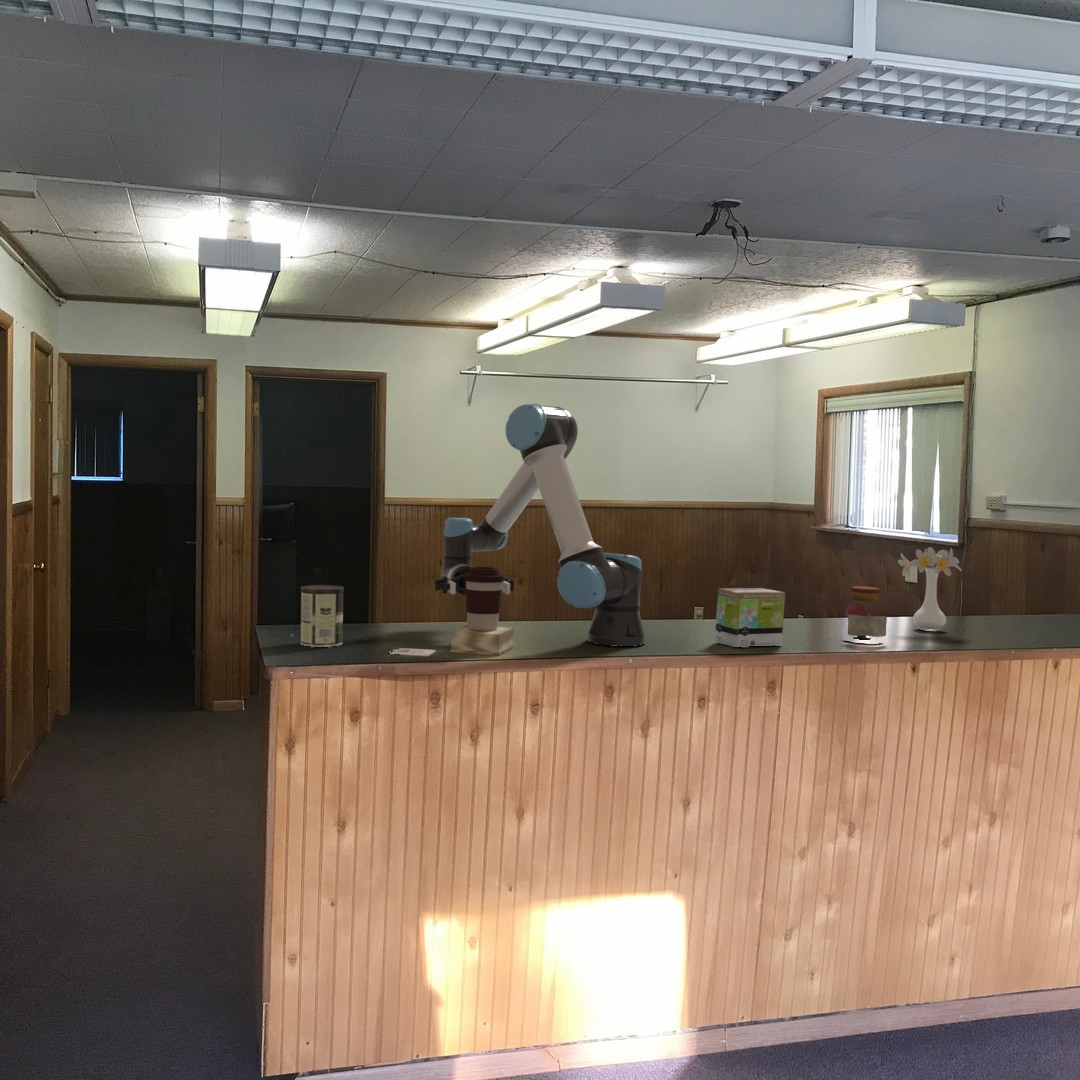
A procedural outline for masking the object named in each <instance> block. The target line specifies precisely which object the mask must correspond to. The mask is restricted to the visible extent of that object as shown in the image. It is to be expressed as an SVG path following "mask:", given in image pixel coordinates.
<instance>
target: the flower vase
mask: <svg viewBox="0 0 1080 1080" xmlns="http://www.w3.org/2000/svg"><path fill="white" fill-rule="evenodd" d="M915 555H916V558H917V559H912V560H911V561H909V560H908V559H907V558H906V557H905V555H904V554H903V553H902V552H900V558H901V559H898V560H897V562H898V565H899V566H900V567H903V568H902V573H901V574H902V577H905V576H906V574H907V577H908V578H909V577H910V573H911V569H912V570H913V569H916V568H918V572H919V573H923V572H924V571H925V575H926V576H925V577H926V583H925V585H926V586H925V593H924V594H925V595H924V598H923V599H924V600H923V603H922V605H921V606H920V608H919V609H918V610H917V611H916V612H915V613H914V615H913V618H912V621H913V623H914V624H915V625H916V626H918V627H920V628H925V629H941V628H942V627H944V626H945V625H946V623H947V617H946V615H945V613H944V612H943V611H942V610H941V609H940V607H939V603H938V599H937V597H938V595H937V593H938V591H937V586H938V577H939V573H940V572H941V571H942V572H943V573H944V574H945V575H946V576H948V577H951V576H952V570H951V569H950V568H951V567H954V568H957V569H958V570H959V571H960V572H962V569H961V566H960V565H958V564H960V561H959V559H958V557H956V556H955V557H954V550H953V548H952V547H950V550H949V551H948V550H945V549H941V550H939V551H938V552H937V553H936V551H935V550H934V548H932V547H930V546H929V547H928V548H927V549H924V552H923V551H922V550H920V549H916V550H915ZM911 567H912V568H911Z"/></svg>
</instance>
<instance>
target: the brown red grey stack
mask: <svg viewBox="0 0 1080 1080" xmlns="http://www.w3.org/2000/svg"><path fill="white" fill-rule="evenodd" d="M850 591H851V592H850V593H851V594H850V600H852V601H858V602H870V603H871V602H873V603H874V602H879V601H880V588H878V587H875V586H874V587H873V586H863V585H862V586H860V585H858V586H857V585H855V586H851V590H850ZM844 613H845V616H846V617H847V635H849V636H851V637H853V639H859V640H870V638H881V637H886V636H887V621H888V619H887V618H888V616H887V615H883V616H882V615H880V616H879V615H877V616H876V615H875V616H873V615H871V614H870V613H868V611H867V610H866V609H865V608H864V607H863V606H862V605H861V604H859V603H851V604H850V605H848V607H847V608H846V610H845V612H844ZM867 637H869V638H867Z"/></svg>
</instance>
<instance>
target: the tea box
mask: <svg viewBox="0 0 1080 1080" xmlns="http://www.w3.org/2000/svg"><path fill="white" fill-rule="evenodd" d="M785 602H786V592H785V591H780V590H774V589H770V588H763V587H757V588H756V587H754V588H753V587H749V588H748V587H746V588H745V587H741V588H740V587H734V588H733V587H732V588H728V587H726V588H723V587H722V588H721V587H720V588H718V590H717V604H716V614H715V615H716V616H715V617H716V618H715V631H714V632H715V634H714V643H716V642H717V644H719V643H721V644H720V645H722V644H725V645H729V646H733V647H742V648H750V647H749V646H772V645H782V646H783V632H784V619H785V618H784V617H785V616H784V615H785ZM725 645H724V646H725ZM729 646H728V647H729ZM733 647H732V648H733Z"/></svg>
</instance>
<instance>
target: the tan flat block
mask: <svg viewBox="0 0 1080 1080" xmlns="http://www.w3.org/2000/svg"><path fill="white" fill-rule="evenodd" d="M514 629H515V628H514V627H507V626H506V627H505V626H498V628H497V629H496V630H493V631H476V630H471V629H469V628H468V624H466V625H462V626H460V627H458V628H456V629H453V630H451V633H450V634H451V639H450V643H451V644H450V649H449V653H450V652H451V653H460V654H473V655H485V656H496V657H498V656H502V655H504V654H505V652H506V653H507V652H509V651H511V650H513V649H515V645H514V637H515V635H514V634H515V630H514ZM512 648H513V649H512ZM510 649H511V650H510ZM508 650H509V651H508ZM503 653H504V654H503Z"/></svg>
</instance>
